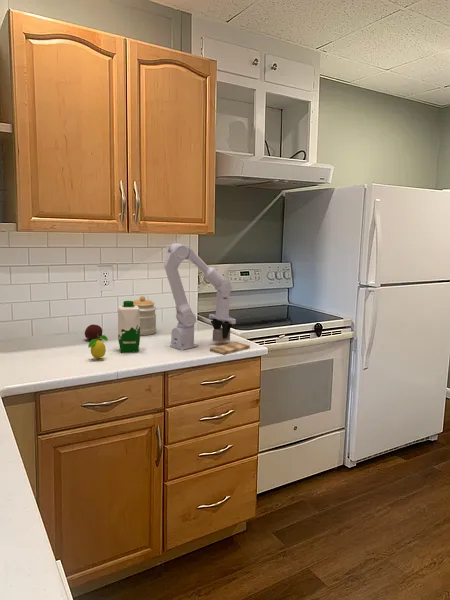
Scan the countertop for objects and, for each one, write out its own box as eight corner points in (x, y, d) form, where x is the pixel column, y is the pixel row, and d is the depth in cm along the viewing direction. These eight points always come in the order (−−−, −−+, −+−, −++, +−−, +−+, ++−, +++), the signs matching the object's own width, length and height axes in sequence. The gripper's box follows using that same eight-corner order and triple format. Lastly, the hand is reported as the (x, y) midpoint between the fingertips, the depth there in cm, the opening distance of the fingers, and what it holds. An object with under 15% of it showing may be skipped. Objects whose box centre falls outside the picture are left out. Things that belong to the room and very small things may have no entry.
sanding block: (219, 342, 203) (219, 331, 202) (212, 341, 206) (212, 329, 205) (229, 340, 208) (230, 329, 208) (223, 338, 211) (223, 327, 210)
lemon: (108, 356, 182) (108, 331, 181) (106, 361, 177) (106, 335, 175) (90, 357, 181) (90, 331, 180) (88, 361, 176) (87, 335, 174)
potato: (105, 340, 207) (105, 325, 206) (88, 343, 202) (88, 327, 201) (98, 337, 212) (98, 322, 211) (81, 339, 208) (81, 323, 207)
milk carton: (138, 347, 198) (138, 300, 195) (140, 352, 189) (140, 304, 186) (117, 347, 196) (117, 300, 192) (118, 353, 187) (118, 304, 184)
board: (223, 354, 190) (223, 351, 190) (210, 350, 195) (210, 348, 195) (249, 348, 201) (249, 345, 201) (235, 344, 207) (236, 341, 207)
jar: (144, 337, 215) (144, 299, 212) (122, 333, 221) (122, 296, 219) (161, 332, 226) (162, 296, 223) (140, 328, 233) (140, 293, 230)
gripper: (241, 308, 203) (239, 338, 205) (217, 303, 213) (216, 332, 215) (229, 310, 198) (228, 341, 200) (205, 305, 207) (205, 335, 210)
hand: (221, 337), depth 207 cm, fingers closed on sanding block, 4 cm apart
